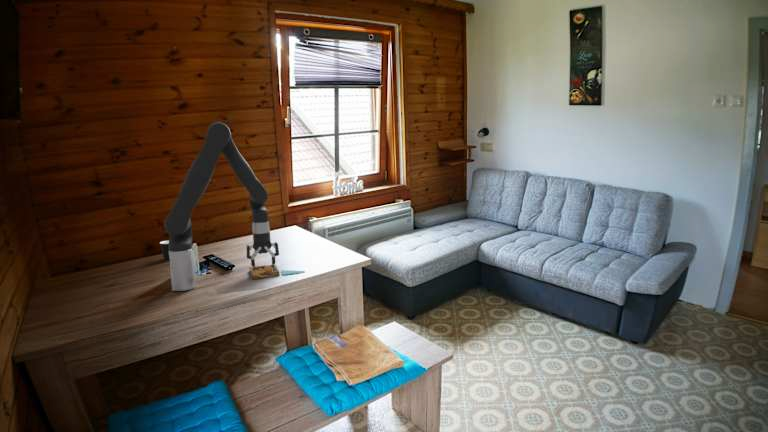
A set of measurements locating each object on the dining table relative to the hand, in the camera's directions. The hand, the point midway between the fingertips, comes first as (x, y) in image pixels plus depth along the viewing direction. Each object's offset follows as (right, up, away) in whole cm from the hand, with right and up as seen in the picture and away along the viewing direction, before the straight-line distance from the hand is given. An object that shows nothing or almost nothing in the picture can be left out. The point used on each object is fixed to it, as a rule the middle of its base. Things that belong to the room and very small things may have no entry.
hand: (263, 265), depth 202 cm
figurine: (+2, -3, 0) cm, 4 cm away
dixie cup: (-57, -1, +28) cm, 63 cm away
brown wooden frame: (0, -4, +1) cm, 4 cm away
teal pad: (+13, -3, +3) cm, 13 cm away
